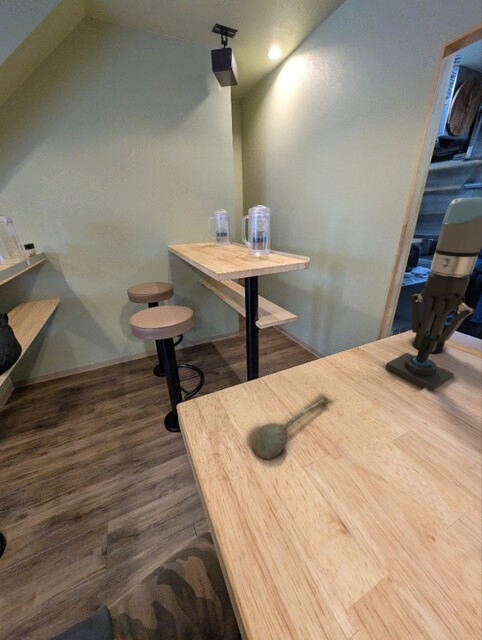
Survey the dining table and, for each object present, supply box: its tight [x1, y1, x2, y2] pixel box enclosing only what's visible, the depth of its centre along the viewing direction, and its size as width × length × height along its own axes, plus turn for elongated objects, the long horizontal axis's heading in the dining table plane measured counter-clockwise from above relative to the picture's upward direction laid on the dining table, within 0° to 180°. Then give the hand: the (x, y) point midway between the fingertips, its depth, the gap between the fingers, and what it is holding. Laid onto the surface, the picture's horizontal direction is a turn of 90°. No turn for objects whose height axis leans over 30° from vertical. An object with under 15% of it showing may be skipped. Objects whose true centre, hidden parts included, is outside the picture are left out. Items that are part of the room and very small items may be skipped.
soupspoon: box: [251, 396, 330, 460], centre depth 54 cm, size 22×3×7 cm
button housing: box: [384, 352, 455, 392], centre depth 68 cm, size 12×10×4 cm
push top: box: [412, 357, 430, 368], centre depth 67 cm, size 4×4×2 cm
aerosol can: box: [411, 304, 458, 355], centre depth 77 cm, size 8×8×20 cm
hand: (421, 359), depth 67 cm, fingers closed
